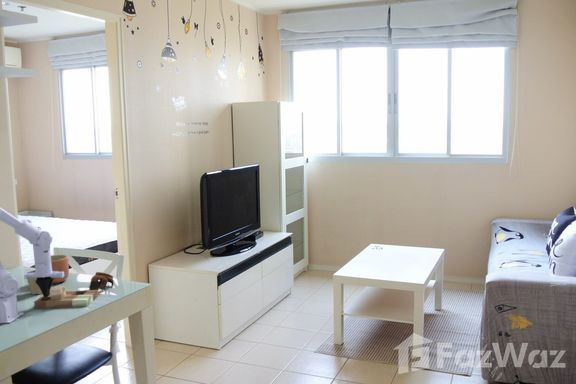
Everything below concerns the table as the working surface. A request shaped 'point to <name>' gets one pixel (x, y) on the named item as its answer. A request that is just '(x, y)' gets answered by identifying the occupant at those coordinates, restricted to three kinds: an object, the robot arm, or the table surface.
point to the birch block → (58, 293)
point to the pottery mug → (102, 283)
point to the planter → (60, 267)
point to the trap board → (68, 299)
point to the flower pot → (33, 285)
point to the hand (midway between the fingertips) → (46, 296)
